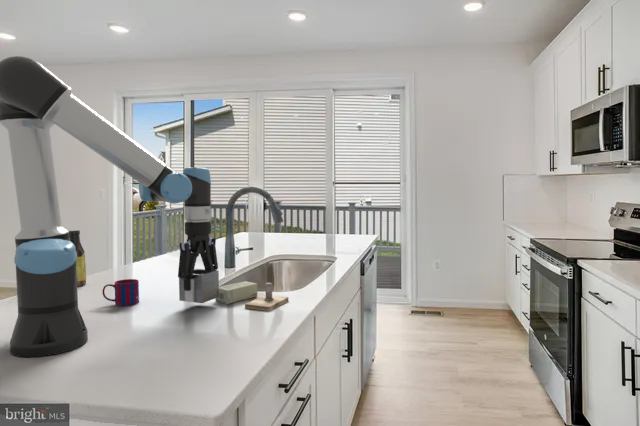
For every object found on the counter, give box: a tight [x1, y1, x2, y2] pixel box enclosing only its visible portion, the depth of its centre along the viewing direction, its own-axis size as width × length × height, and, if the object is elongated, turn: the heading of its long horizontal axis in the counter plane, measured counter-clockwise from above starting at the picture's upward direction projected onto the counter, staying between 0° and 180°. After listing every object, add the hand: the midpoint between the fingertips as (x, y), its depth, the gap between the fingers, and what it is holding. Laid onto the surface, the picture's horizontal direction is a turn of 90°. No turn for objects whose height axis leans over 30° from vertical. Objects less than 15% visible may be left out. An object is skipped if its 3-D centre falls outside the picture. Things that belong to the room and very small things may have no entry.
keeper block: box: [244, 282, 289, 312], centre depth 137 cm, size 12×8×6 cm, turn 156°
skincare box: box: [214, 280, 258, 305], centre depth 144 cm, size 6×4×12 cm
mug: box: [102, 278, 140, 307], centre depth 139 cm, size 7×10×7 cm
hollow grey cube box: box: [178, 268, 220, 304], centre depth 134 cm, size 8×8×8 cm
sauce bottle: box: [68, 229, 87, 287], centre depth 164 cm, size 6×6×20 cm
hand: (199, 297), depth 135 cm, fingers closed on hollow grey cube box, 8 cm apart
